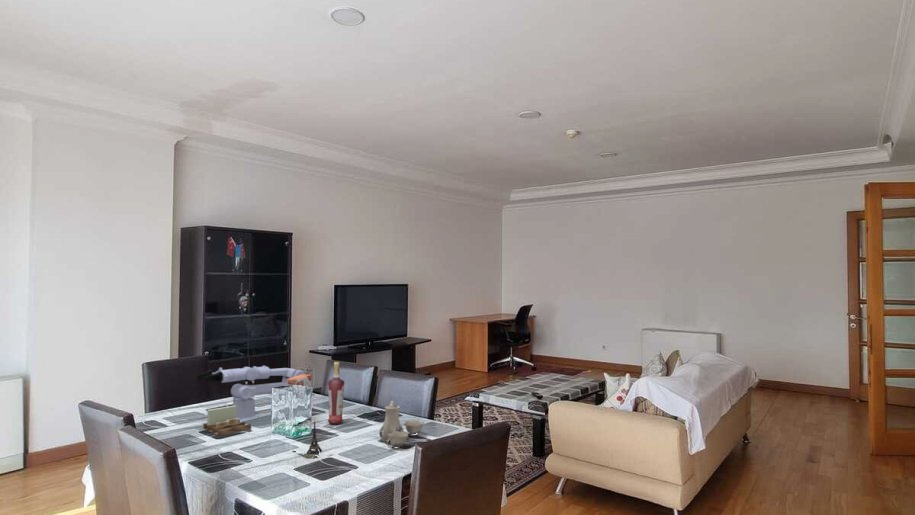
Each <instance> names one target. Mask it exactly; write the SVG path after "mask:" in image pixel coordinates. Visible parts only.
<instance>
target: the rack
mask: <svg viewBox="0 0 915 515" xmlns="http://www.w3.org/2000/svg"><path fill="white" fill-rule="evenodd" d="M240 421H241V420H239V421H238V423H235V424H230V425H225V426H219V427H216V424H212V425H207V422H205V423H203V424H202V425H203V426H202V427H203V428H202V429H204V430H206V431H207V432H210V433H212V434H214V435H215V436H218V437H220V436H225V435H230V434H235V433H238V432H245V431H249V430H252V424H251V423H250V424H249V423H248V424H246V421H242V422H240Z"/></svg>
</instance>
